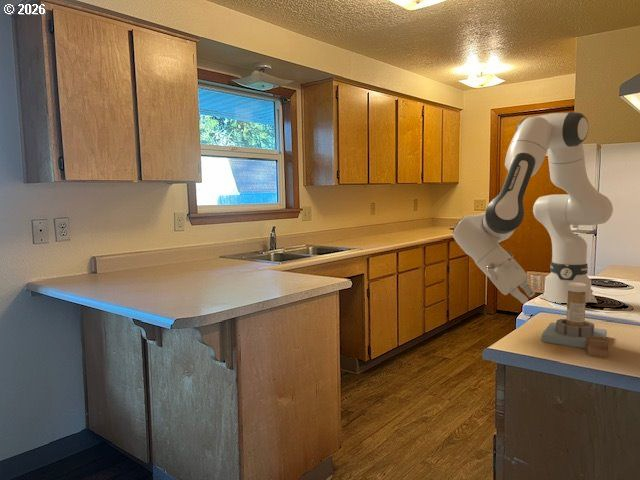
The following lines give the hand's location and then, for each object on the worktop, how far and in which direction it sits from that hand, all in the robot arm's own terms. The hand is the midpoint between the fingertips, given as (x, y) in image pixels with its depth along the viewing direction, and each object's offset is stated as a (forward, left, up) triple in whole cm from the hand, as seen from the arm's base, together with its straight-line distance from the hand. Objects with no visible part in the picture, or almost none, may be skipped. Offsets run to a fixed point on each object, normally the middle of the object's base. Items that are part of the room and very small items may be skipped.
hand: (529, 298), depth 133 cm
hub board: (0, +12, -10) cm, 15 cm away
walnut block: (+10, +18, -10) cm, 23 cm away
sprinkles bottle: (0, +12, -8) cm, 14 cm away
